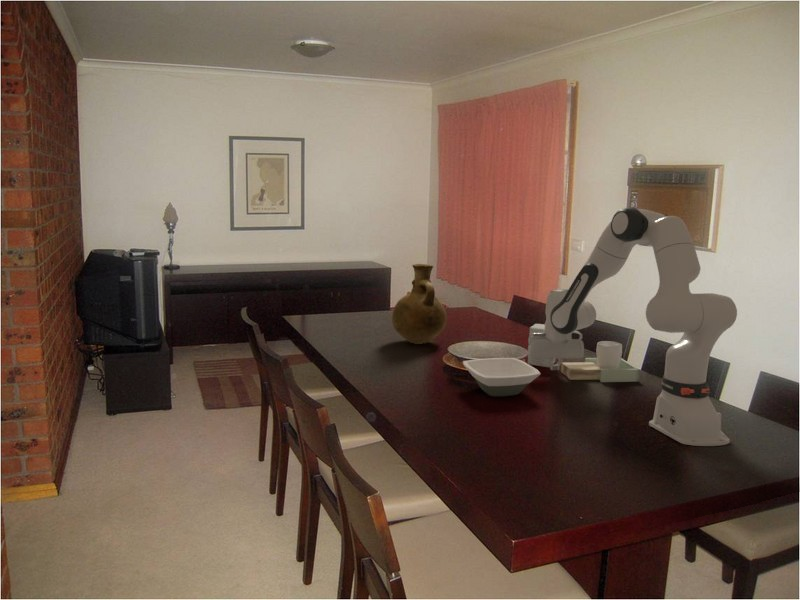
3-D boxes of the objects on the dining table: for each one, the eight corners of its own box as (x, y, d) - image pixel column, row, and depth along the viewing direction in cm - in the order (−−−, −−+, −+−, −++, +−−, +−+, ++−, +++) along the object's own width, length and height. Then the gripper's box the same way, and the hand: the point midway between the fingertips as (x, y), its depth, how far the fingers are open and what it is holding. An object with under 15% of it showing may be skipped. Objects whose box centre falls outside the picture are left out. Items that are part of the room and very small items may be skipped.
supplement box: (526, 364, 246) (528, 327, 244) (533, 359, 254) (535, 323, 251) (550, 367, 242) (552, 329, 239) (555, 362, 250) (557, 325, 247)
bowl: (482, 404, 200) (483, 379, 198) (457, 383, 221) (457, 360, 220) (545, 399, 206) (546, 374, 204) (514, 379, 227) (515, 356, 226)
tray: (638, 381, 226) (639, 369, 225) (600, 382, 225) (601, 369, 224) (619, 369, 241) (620, 357, 241) (584, 369, 240) (585, 358, 239)
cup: (620, 379, 228) (623, 347, 225) (594, 377, 230) (597, 345, 228) (619, 373, 236) (621, 341, 234) (594, 370, 239) (596, 340, 236)
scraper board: (602, 380, 228) (603, 369, 227) (570, 380, 227) (570, 370, 226) (591, 372, 238) (592, 362, 237) (560, 372, 237) (561, 362, 236)
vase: (455, 347, 271) (457, 266, 265) (403, 352, 262) (404, 268, 256) (432, 335, 293) (433, 260, 287) (383, 339, 284) (384, 262, 278)
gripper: (531, 335, 225) (529, 372, 227) (586, 335, 226) (584, 372, 229) (526, 331, 231) (524, 367, 234) (580, 331, 232) (578, 367, 235)
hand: (554, 369), depth 231 cm, fingers closed
